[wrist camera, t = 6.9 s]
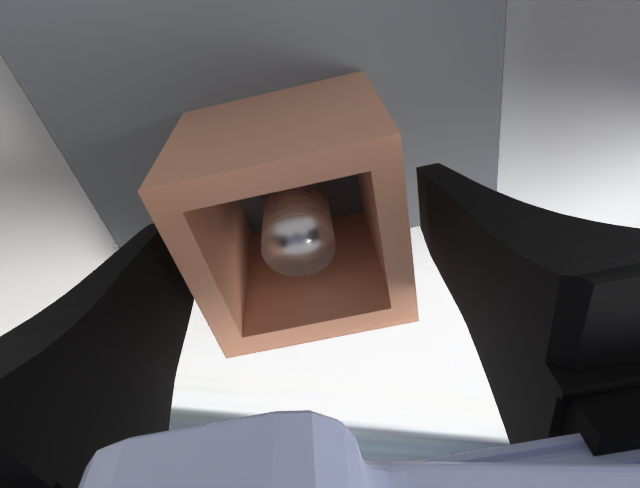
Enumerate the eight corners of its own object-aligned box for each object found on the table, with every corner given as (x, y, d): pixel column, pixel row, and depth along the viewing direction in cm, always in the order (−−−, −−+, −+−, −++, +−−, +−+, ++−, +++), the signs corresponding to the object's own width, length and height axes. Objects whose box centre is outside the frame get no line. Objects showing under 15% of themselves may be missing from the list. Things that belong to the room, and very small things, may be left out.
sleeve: (362, 70, 13) (400, 133, 8) (384, 223, 16) (418, 320, 12) (183, 112, 13) (137, 191, 9) (240, 253, 16) (226, 358, 12)
